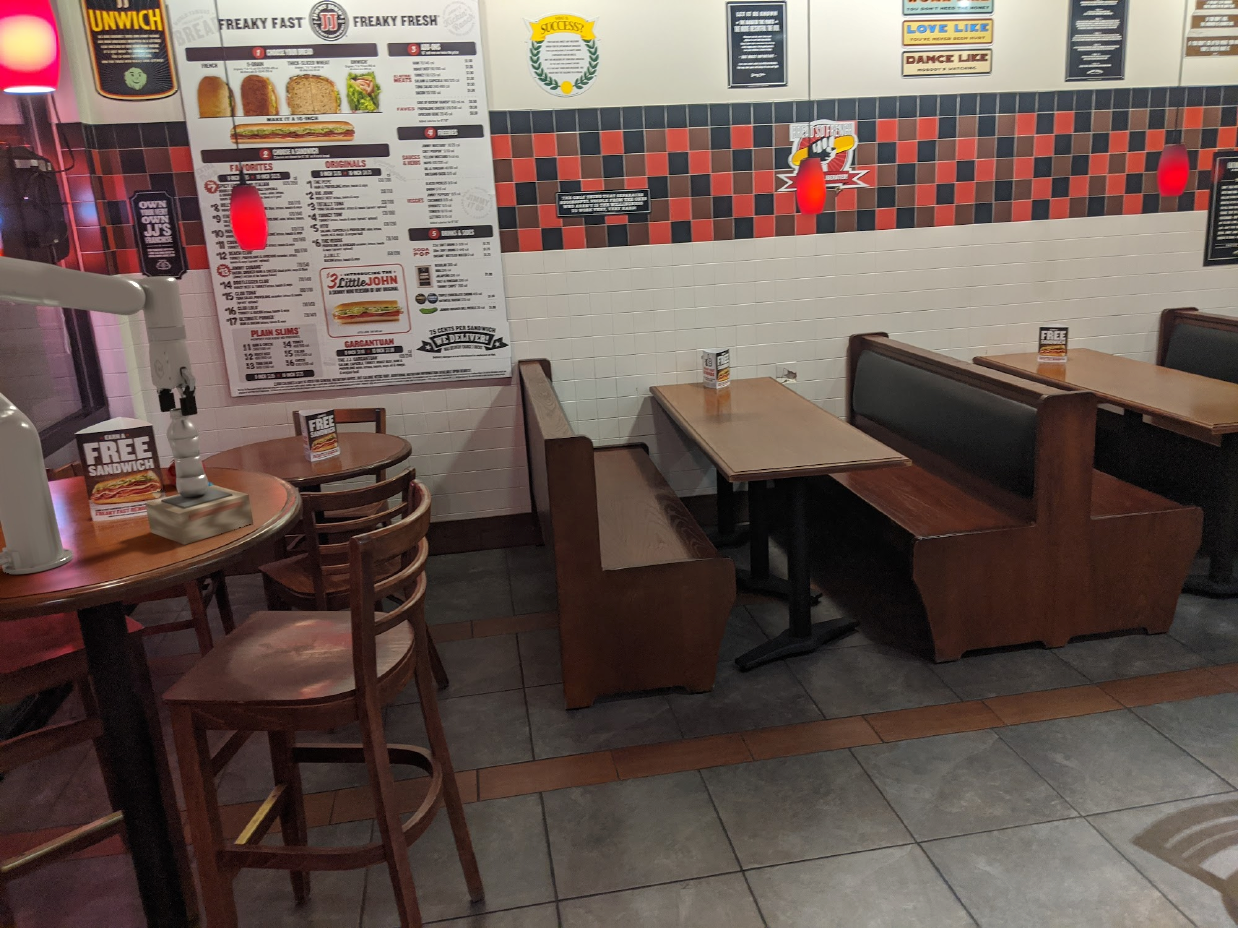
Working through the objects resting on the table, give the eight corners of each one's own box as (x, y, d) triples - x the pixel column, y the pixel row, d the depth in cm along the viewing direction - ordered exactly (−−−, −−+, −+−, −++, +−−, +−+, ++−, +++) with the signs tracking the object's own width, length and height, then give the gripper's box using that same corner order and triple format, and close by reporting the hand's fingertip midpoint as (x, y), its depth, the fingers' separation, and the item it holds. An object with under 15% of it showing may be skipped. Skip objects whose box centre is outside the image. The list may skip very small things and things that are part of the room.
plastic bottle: (202, 499, 205) (187, 411, 199) (172, 500, 205) (156, 413, 200) (215, 491, 211) (200, 405, 206) (186, 492, 211) (170, 407, 206)
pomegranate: (204, 477, 255) (199, 445, 253) (210, 484, 247) (205, 450, 245) (165, 483, 250) (160, 450, 248) (170, 491, 242) (165, 456, 240)
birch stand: (185, 544, 198) (179, 512, 196) (150, 532, 208) (144, 501, 206) (254, 524, 209) (249, 492, 208) (218, 513, 220) (213, 483, 218)
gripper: (131, 335, 200) (143, 412, 204) (168, 338, 189) (181, 419, 193) (165, 331, 206) (177, 407, 210) (203, 334, 195) (215, 413, 199)
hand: (179, 413), depth 202 cm, fingers open, 9 cm apart
